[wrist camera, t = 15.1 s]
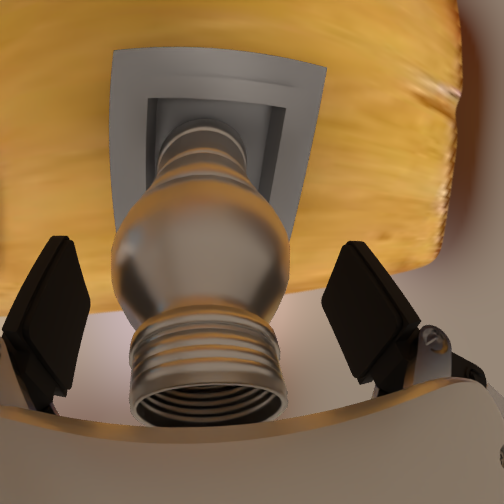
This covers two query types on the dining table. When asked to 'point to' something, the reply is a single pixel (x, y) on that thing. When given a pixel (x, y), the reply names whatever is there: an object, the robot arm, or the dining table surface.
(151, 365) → the plastic bottle
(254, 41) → the dining table surface
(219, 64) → the gray square tray
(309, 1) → the dining table surface
